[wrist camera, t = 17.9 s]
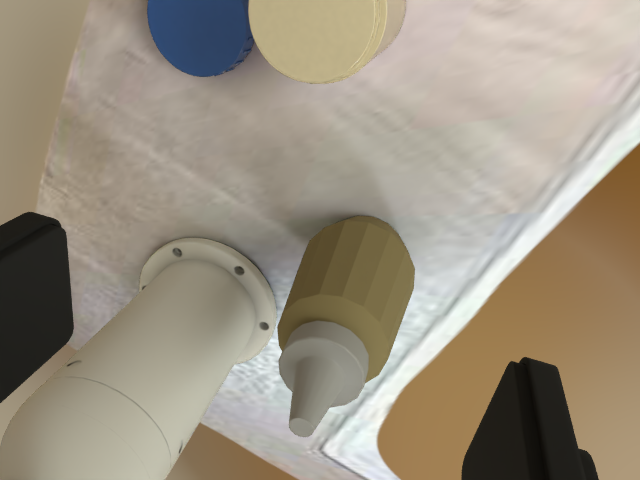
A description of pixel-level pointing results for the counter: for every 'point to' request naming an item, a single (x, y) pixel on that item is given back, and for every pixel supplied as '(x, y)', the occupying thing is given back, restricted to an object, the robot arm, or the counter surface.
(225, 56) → the lid
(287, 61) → the jar
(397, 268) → the squeeze bottle
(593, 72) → the counter surface
